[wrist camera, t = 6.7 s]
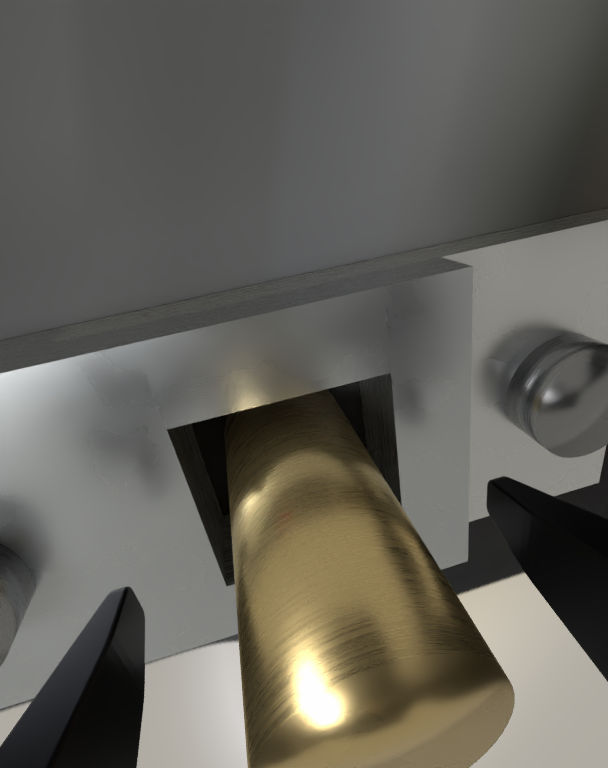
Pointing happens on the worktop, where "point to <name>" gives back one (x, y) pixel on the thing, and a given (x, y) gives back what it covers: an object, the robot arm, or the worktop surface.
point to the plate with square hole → (276, 383)
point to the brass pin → (346, 608)
